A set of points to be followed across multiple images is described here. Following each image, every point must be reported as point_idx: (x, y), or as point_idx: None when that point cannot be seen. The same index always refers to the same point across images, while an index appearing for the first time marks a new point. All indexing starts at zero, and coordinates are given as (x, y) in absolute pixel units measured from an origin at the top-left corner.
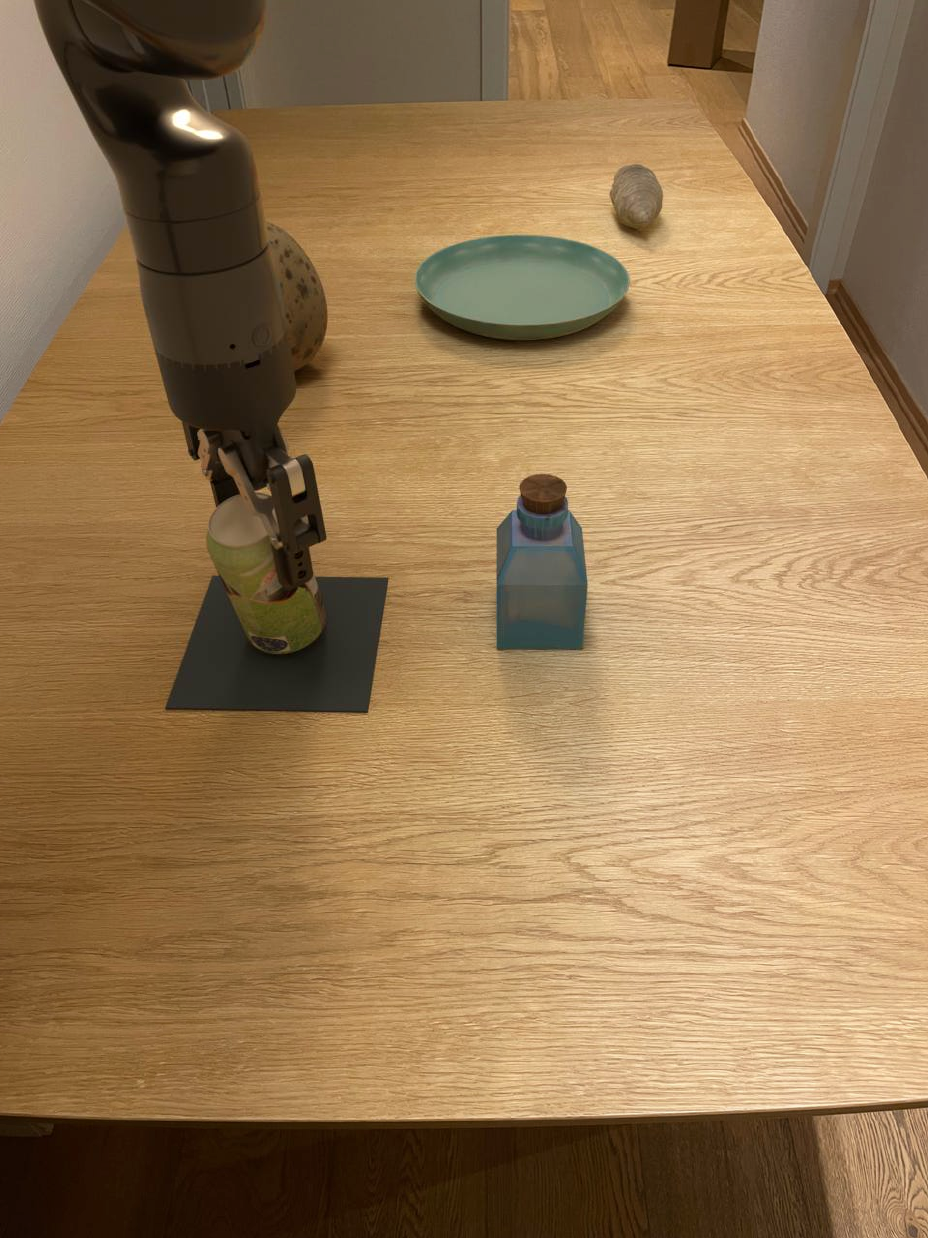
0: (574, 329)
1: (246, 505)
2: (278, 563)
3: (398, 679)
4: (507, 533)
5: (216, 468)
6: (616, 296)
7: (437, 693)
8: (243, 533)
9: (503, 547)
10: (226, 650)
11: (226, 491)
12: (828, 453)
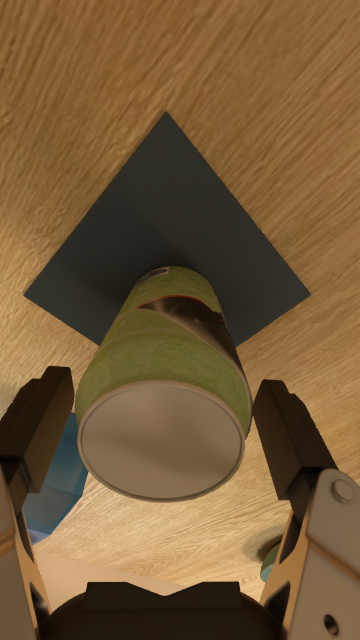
0: (269, 554)
1: (16, 574)
2: (23, 413)
3: (52, 335)
4: (35, 514)
5: (299, 539)
6: (271, 569)
7: (18, 347)
8: (123, 426)
9: (31, 499)
10: (199, 240)
11: (284, 452)
12: (90, 549)
